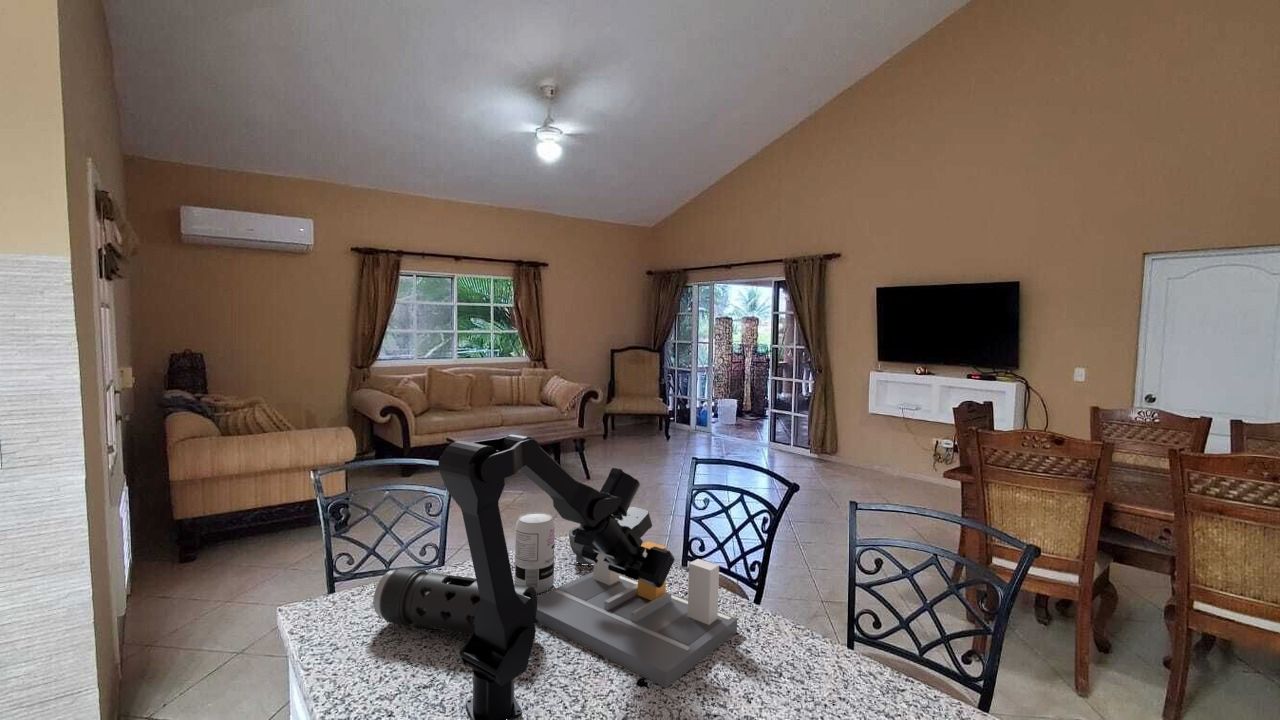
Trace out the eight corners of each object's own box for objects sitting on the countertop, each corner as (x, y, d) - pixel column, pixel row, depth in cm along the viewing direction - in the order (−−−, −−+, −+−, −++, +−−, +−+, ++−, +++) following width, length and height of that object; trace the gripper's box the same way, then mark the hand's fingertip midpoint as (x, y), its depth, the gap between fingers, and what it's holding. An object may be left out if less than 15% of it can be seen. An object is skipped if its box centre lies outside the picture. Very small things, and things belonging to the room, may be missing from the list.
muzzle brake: (513, 661, 92) (514, 599, 92) (369, 635, 99) (369, 578, 99) (537, 632, 101) (538, 576, 101) (404, 610, 108) (405, 557, 108)
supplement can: (510, 582, 121) (511, 514, 121) (547, 576, 125) (549, 510, 124) (519, 598, 114) (520, 525, 114) (558, 591, 118) (559, 521, 117)
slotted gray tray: (666, 688, 86) (668, 608, 85) (523, 615, 107) (524, 551, 107) (736, 632, 103) (738, 565, 102) (601, 578, 124) (602, 523, 124)
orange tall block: (656, 602, 108) (657, 551, 107) (637, 595, 111) (638, 545, 110) (665, 597, 110) (666, 547, 110) (646, 590, 113) (648, 541, 113)
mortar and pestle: (563, 566, 130) (564, 516, 130) (573, 551, 140) (574, 504, 139) (611, 570, 129) (612, 519, 129) (617, 554, 138) (618, 506, 138)
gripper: (670, 508, 98) (702, 552, 107) (592, 488, 110) (627, 529, 119) (640, 565, 92) (677, 607, 101) (562, 538, 104) (601, 578, 113)
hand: (644, 577), depth 108 cm, fingers closed
